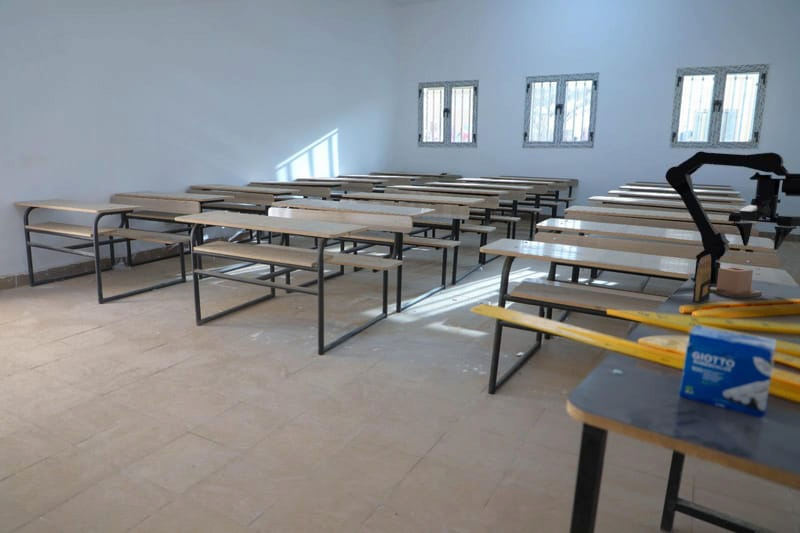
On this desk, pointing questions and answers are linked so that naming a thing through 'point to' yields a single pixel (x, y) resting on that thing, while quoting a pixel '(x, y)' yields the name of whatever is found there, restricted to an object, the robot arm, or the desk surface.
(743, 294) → the pin board
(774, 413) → the desk surface
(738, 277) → the collar
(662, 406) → the desk surface
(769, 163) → the robot arm
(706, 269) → the ammunition clip
